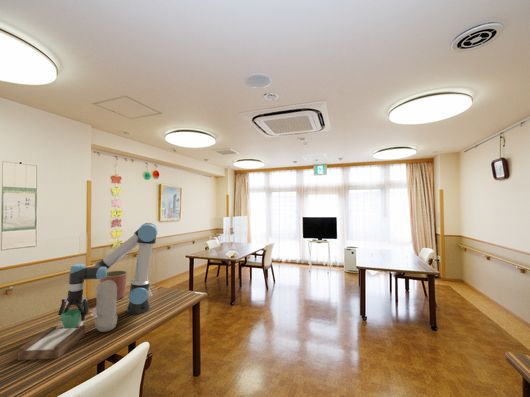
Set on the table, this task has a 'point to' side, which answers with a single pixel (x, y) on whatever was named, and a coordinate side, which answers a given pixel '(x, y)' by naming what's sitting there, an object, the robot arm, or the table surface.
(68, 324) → the mug
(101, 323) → the sculpture
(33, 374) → the table surface
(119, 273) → the planter
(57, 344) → the brown rectangular tray
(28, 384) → the table surface
